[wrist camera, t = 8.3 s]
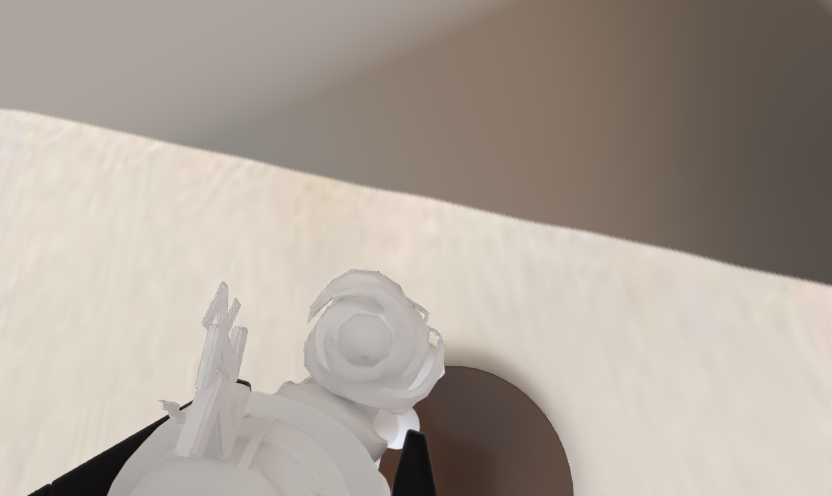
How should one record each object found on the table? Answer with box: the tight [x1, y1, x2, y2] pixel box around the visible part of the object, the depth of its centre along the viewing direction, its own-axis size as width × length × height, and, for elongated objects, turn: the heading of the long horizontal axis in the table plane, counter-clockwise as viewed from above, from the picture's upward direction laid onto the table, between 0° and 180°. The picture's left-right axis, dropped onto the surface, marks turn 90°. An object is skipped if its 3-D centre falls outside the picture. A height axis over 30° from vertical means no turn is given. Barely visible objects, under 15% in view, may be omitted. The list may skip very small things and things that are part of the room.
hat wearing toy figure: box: [107, 269, 445, 496], centre depth 10 cm, size 9×4×12 cm, turn 152°
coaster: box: [378, 366, 574, 496], centre depth 20 cm, size 11×11×1 cm
